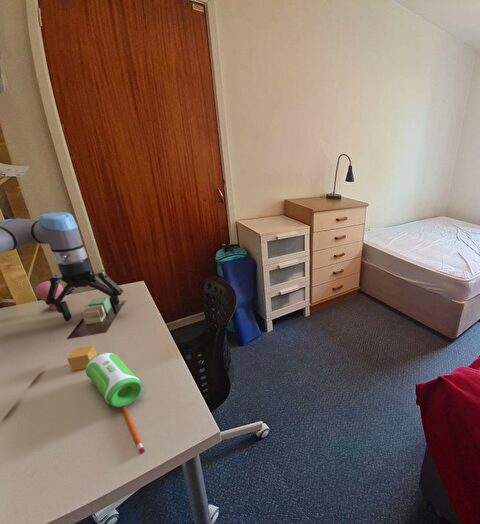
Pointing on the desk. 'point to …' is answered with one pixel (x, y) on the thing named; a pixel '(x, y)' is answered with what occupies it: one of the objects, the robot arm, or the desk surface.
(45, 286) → the light bulb
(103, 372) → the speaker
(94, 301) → the green cube
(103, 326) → the board
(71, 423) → the desk surface
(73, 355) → the orange cube
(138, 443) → the pencil
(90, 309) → the beige cube
